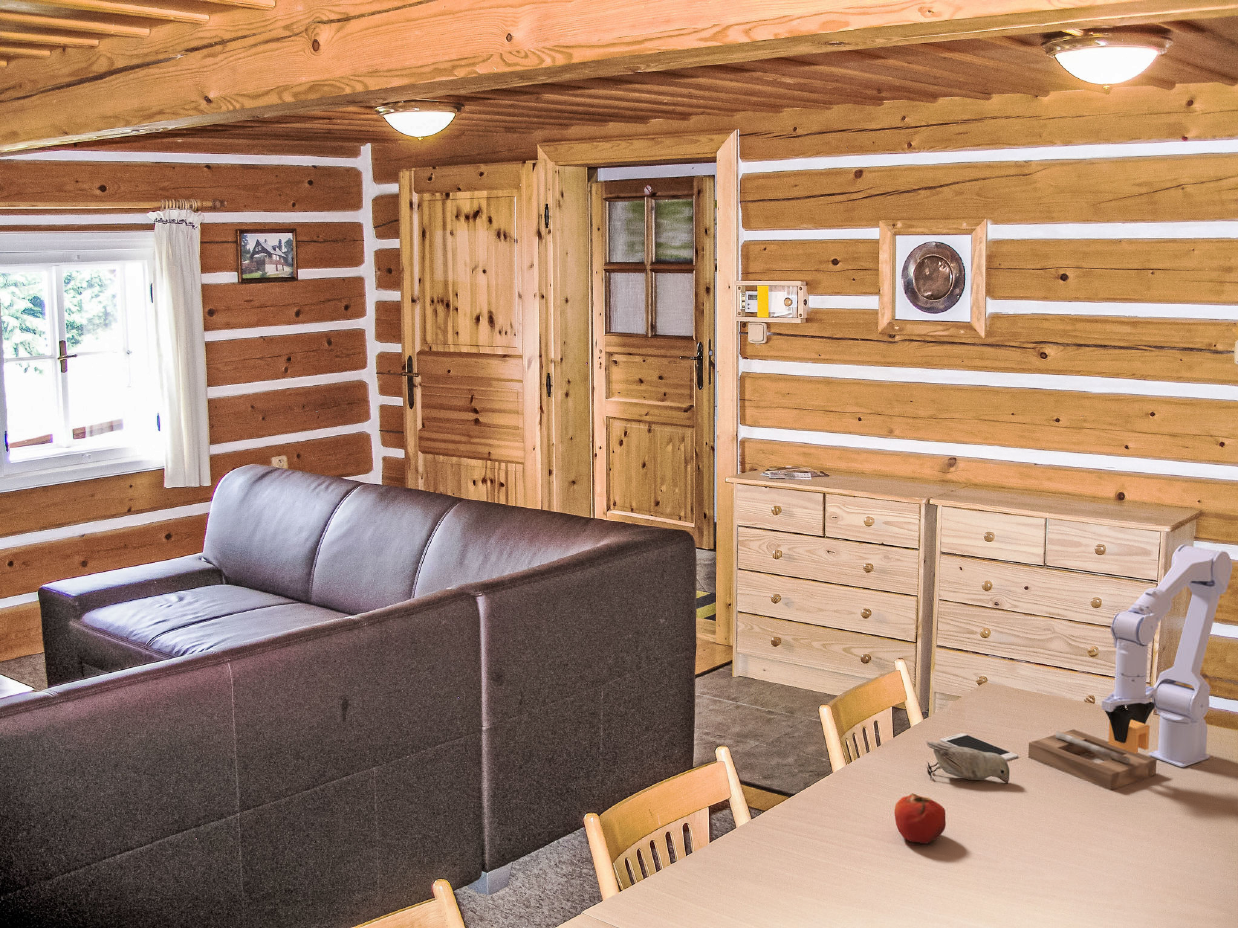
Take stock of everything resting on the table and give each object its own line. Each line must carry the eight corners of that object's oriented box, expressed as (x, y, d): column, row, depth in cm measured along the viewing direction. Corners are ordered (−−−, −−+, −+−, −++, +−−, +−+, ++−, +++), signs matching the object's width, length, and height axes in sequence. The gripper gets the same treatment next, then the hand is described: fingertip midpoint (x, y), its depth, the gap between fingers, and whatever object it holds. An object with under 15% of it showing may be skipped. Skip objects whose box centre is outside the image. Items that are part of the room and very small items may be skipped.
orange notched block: (1121, 739, 251) (1122, 716, 251) (1148, 748, 246) (1149, 725, 246) (1108, 743, 249) (1109, 720, 248) (1134, 753, 244) (1136, 729, 243)
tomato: (911, 822, 231) (912, 781, 230) (955, 838, 224) (957, 795, 223) (882, 838, 224) (883, 796, 223) (927, 855, 218) (928, 811, 217)
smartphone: (994, 766, 257) (995, 761, 257) (939, 742, 270) (939, 738, 270) (1018, 758, 261) (1018, 754, 261) (962, 736, 274) (962, 732, 274)
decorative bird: (1009, 789, 245) (1010, 753, 244) (924, 781, 250) (925, 746, 249) (1008, 778, 250) (1009, 743, 249) (925, 771, 255) (926, 736, 254)
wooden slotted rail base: (1073, 743, 268) (1074, 722, 267) (1155, 774, 251) (1156, 752, 250) (1028, 757, 261) (1029, 736, 260) (1110, 789, 244) (1111, 767, 243)
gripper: (1125, 684, 238) (1122, 752, 241) (1172, 670, 246) (1168, 737, 248) (1093, 675, 244) (1090, 741, 246) (1140, 661, 252) (1137, 726, 254)
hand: (1127, 738), depth 248 cm, fingers closed on orange notched block, 4 cm apart
